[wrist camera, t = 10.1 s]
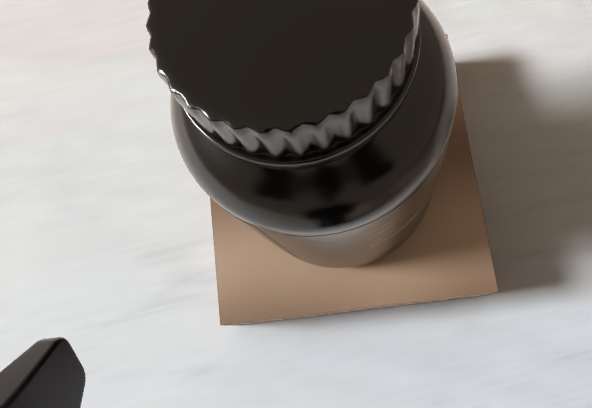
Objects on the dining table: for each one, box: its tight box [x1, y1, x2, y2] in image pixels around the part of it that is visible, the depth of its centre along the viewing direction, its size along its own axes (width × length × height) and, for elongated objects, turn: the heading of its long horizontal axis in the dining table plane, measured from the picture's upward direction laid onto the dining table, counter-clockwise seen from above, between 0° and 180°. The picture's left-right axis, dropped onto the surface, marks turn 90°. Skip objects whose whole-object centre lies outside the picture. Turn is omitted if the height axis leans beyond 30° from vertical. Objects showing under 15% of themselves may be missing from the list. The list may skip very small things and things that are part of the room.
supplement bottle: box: [146, 0, 457, 268], centre depth 15 cm, size 7×7×12 cm
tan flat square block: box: [210, 34, 498, 325], centre depth 22 cm, size 10×10×2 cm
